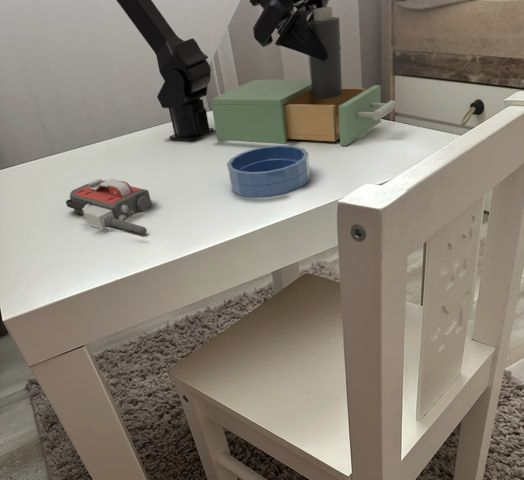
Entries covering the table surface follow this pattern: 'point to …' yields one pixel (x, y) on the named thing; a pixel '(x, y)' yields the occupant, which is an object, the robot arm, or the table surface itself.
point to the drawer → (335, 115)
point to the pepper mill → (328, 71)
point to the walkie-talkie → (110, 203)
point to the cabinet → (256, 110)
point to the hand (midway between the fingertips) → (333, 54)
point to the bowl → (269, 170)
